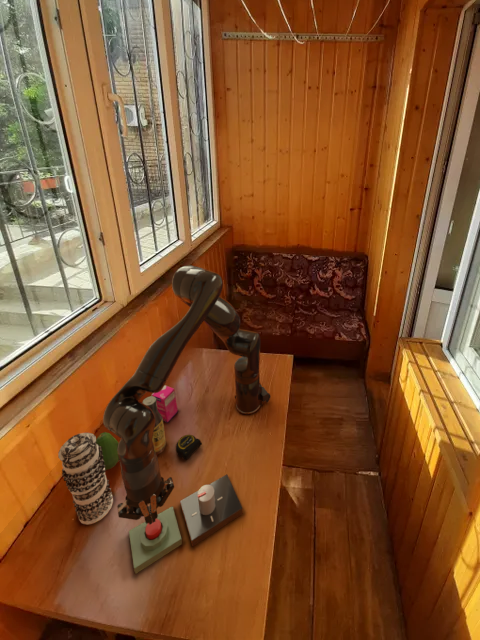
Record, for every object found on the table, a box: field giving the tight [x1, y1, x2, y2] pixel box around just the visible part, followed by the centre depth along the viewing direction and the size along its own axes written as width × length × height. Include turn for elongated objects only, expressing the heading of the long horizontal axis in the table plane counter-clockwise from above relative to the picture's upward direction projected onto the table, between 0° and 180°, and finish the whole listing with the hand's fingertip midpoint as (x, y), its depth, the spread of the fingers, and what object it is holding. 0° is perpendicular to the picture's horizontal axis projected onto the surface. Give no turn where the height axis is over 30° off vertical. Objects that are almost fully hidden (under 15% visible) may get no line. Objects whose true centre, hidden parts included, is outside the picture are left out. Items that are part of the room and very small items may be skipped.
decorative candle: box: [57, 432, 114, 525], centre depth 83 cm, size 9×9×25 cm
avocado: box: [96, 431, 119, 471], centre depth 96 cm, size 8×8×12 cm
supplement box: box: [151, 384, 179, 424], centre depth 115 cm, size 6×6×12 cm
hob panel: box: [179, 473, 244, 548], centre depth 86 cm, size 14×11×3 cm
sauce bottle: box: [141, 395, 167, 456], centre depth 101 cm, size 6×6×20 cm
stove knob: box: [197, 484, 216, 515], centre depth 84 cm, size 4×4×6 cm
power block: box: [128, 505, 183, 575], centre depth 79 cm, size 11×9×4 cm
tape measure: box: [175, 434, 203, 461], centre depth 103 cm, size 7×7×4 cm
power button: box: [145, 519, 162, 540], centre depth 78 cm, size 4×4×2 cm
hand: (152, 519), depth 77 cm, fingers closed
